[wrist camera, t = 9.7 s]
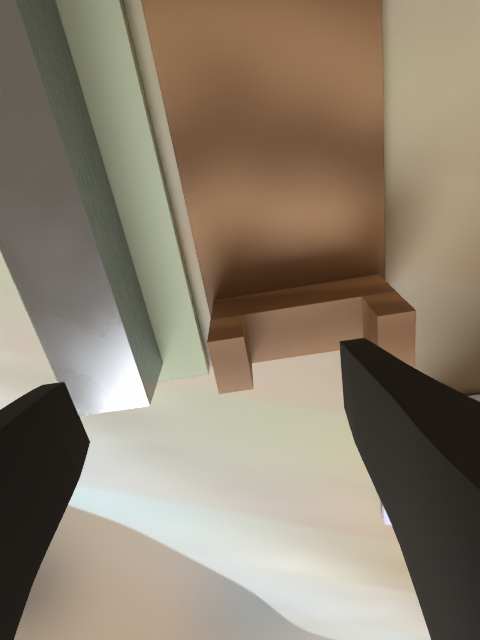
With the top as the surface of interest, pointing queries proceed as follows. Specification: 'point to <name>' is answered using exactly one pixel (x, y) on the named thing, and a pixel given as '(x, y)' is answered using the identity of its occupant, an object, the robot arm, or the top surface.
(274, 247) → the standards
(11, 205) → the rail
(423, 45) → the top surface
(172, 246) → the mat
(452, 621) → the robot arm
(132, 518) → the top surface
